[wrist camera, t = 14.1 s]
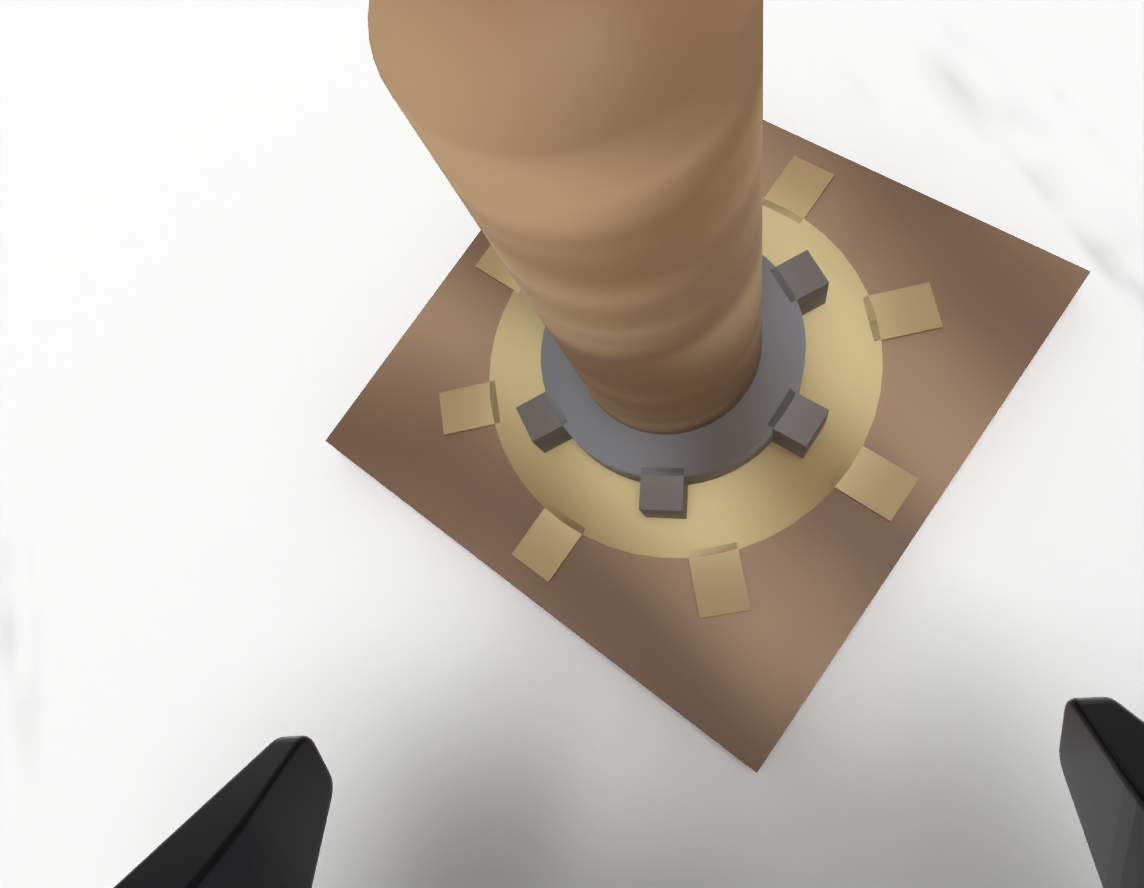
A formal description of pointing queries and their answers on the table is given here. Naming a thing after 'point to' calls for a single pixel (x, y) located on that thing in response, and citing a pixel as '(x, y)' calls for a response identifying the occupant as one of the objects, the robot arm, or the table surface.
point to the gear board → (755, 490)
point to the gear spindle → (622, 218)
